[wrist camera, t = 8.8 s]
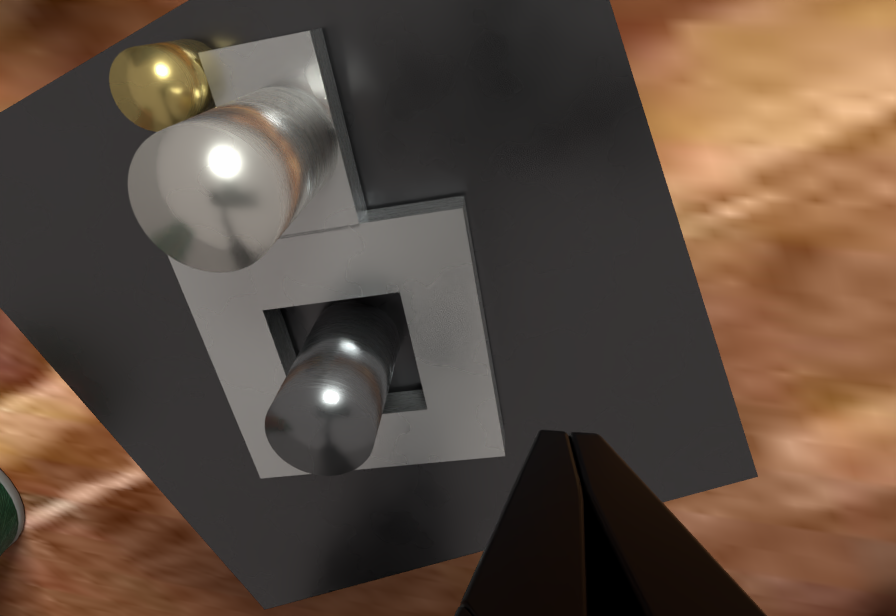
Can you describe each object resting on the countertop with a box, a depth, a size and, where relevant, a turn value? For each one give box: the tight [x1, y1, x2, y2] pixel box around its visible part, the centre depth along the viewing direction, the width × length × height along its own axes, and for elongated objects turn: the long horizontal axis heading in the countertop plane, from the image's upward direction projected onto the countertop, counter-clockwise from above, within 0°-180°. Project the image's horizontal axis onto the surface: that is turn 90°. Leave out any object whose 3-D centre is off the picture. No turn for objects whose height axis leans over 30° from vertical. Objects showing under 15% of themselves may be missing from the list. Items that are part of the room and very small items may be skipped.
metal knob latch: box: [128, 28, 505, 478], centre depth 17 cm, size 14×9×6 cm, turn 10°
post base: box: [0, 0, 758, 609], centre depth 19 cm, size 22×22×6 cm
